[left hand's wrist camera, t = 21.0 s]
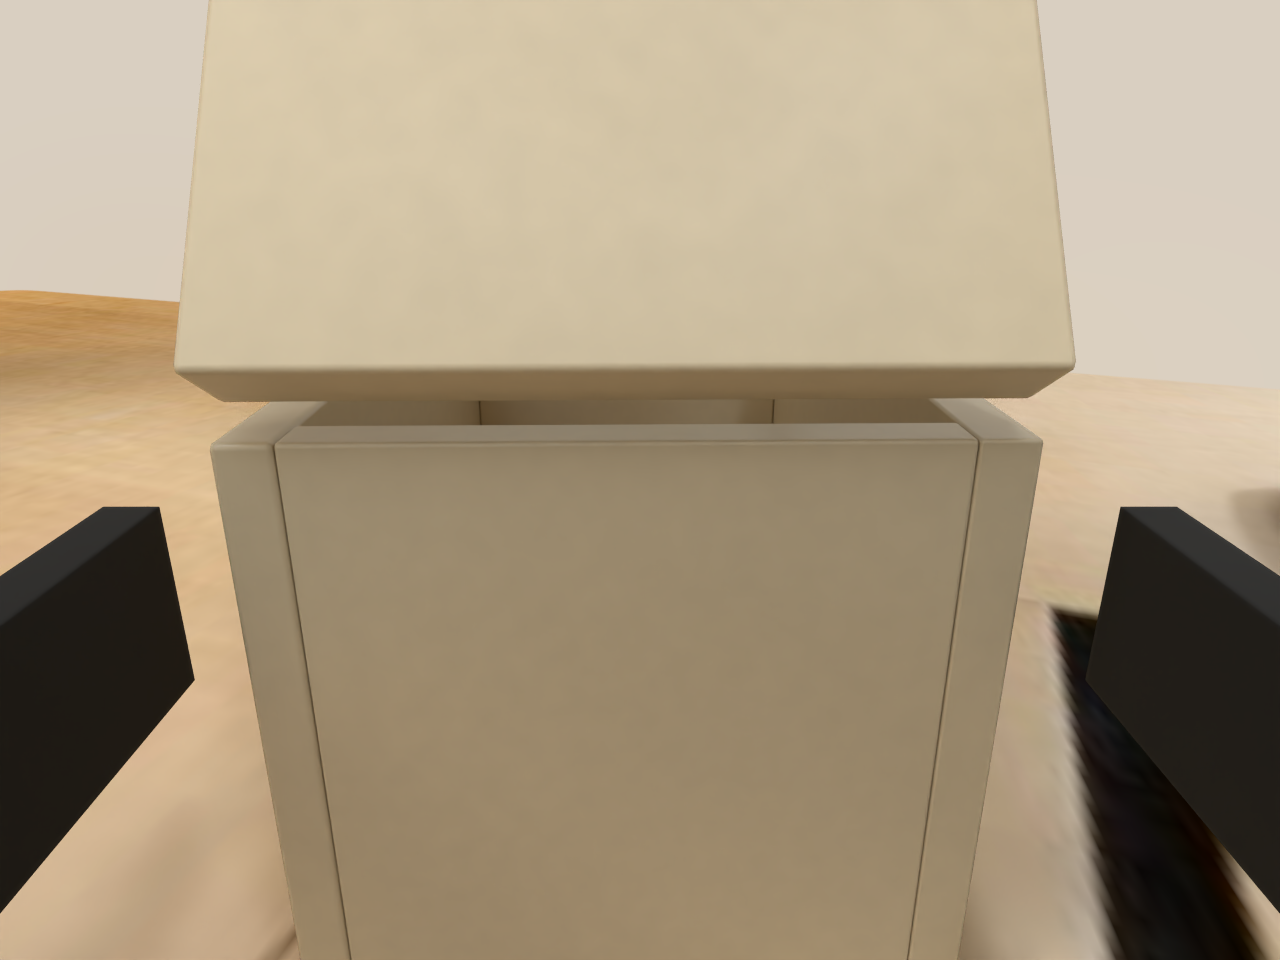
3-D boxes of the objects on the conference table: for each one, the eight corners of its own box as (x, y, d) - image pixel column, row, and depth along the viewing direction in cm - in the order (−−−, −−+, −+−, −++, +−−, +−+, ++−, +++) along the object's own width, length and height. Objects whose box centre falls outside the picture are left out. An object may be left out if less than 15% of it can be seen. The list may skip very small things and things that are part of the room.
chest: (470, 577, 28) (447, 273, 25) (785, 574, 28) (804, 272, 25) (309, 1022, 14) (206, 444, 10) (950, 1012, 14) (1045, 439, 11)
